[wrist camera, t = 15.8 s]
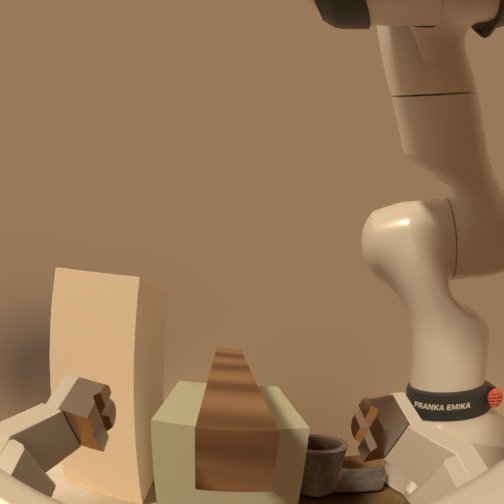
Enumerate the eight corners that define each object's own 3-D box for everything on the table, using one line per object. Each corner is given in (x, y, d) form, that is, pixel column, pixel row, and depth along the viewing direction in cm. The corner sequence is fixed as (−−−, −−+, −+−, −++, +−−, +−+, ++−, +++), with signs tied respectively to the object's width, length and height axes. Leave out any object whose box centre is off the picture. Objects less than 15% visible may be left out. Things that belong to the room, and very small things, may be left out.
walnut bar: (272, 491, 8) (279, 430, 9) (195, 489, 8) (194, 428, 8) (239, 372, 33) (240, 349, 34) (215, 371, 33) (216, 348, 34)
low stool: (284, 565, 12) (309, 427, 15) (166, 561, 11) (150, 419, 15) (266, 501, 23) (277, 386, 27) (181, 497, 23) (179, 380, 26)
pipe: (380, 503, 20) (395, 452, 22) (277, 498, 24) (283, 448, 26) (378, 480, 26) (389, 433, 27) (288, 476, 30) (293, 430, 32)
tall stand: (142, 505, 19) (139, 277, 25) (65, 480, 19) (56, 267, 24) (164, 456, 33) (168, 290, 39) (104, 442, 32) (105, 283, 38)
